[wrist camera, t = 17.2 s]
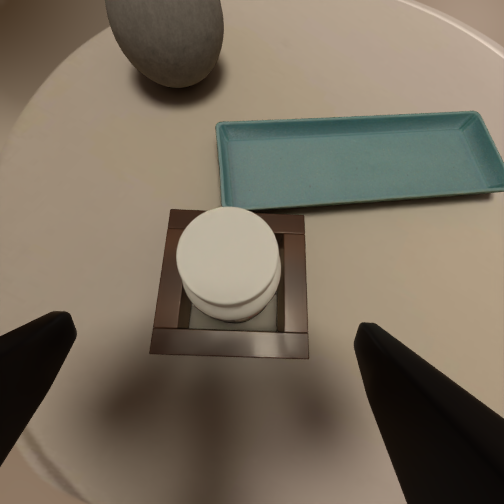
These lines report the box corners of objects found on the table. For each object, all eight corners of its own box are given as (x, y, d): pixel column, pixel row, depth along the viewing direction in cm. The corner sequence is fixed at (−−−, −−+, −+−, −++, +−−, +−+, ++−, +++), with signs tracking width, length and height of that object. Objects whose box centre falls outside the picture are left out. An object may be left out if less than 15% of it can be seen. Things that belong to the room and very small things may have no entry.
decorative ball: (226, 44, 29) (218, -96, 19) (227, 111, 26) (217, -15, 16) (140, 43, 29) (88, -101, 19) (130, 111, 26) (63, -19, 16)
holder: (297, 354, 19) (309, 359, 16) (165, 349, 19) (148, 354, 16) (295, 232, 22) (304, 214, 19) (181, 226, 22) (170, 208, 19)
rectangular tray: (461, 125, 26) (483, 105, 24) (495, 201, 24) (522, 187, 21) (217, 140, 25) (214, 120, 22) (224, 223, 22) (221, 211, 20)
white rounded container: (283, 296, 20) (318, 268, 11) (225, 338, 19) (207, 347, 10) (244, 242, 22) (246, 176, 12) (188, 278, 21) (141, 236, 11)
